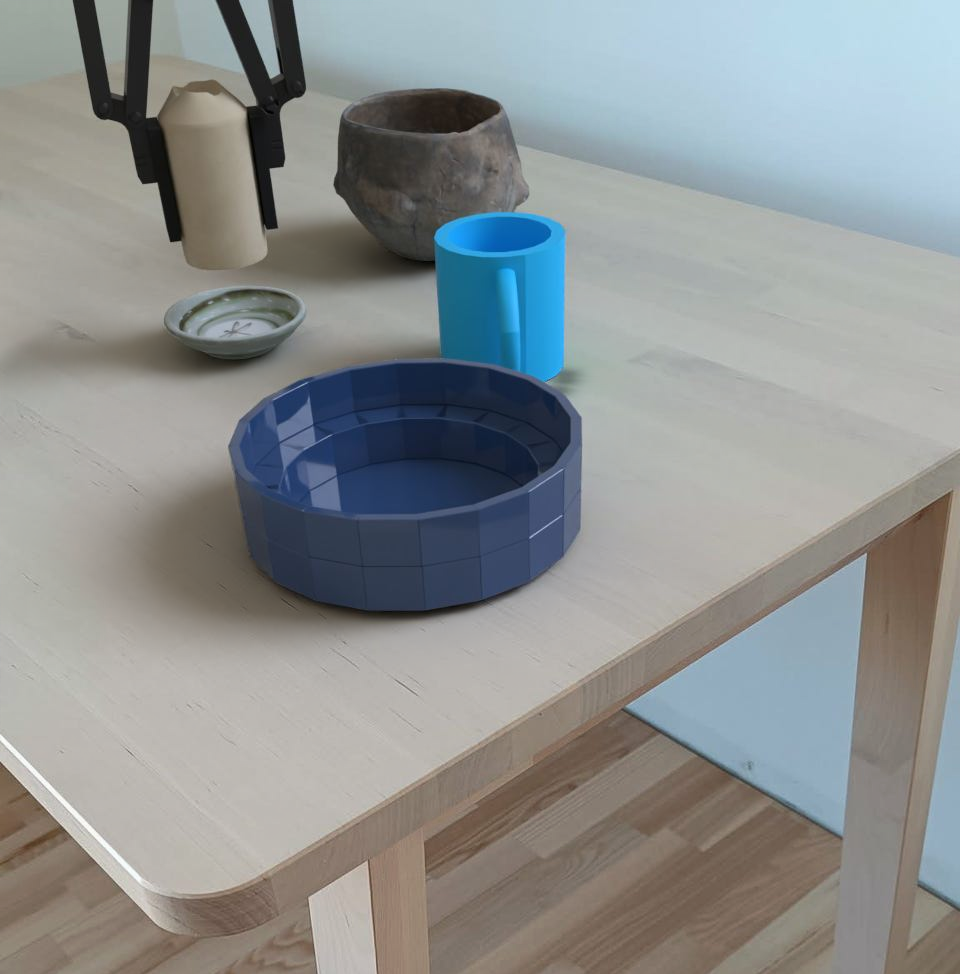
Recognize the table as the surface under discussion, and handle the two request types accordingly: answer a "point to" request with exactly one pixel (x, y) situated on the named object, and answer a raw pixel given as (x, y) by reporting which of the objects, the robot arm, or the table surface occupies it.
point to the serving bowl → (409, 482)
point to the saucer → (235, 320)
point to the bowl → (425, 164)
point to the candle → (213, 176)
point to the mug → (502, 291)
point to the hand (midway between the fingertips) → (221, 228)
